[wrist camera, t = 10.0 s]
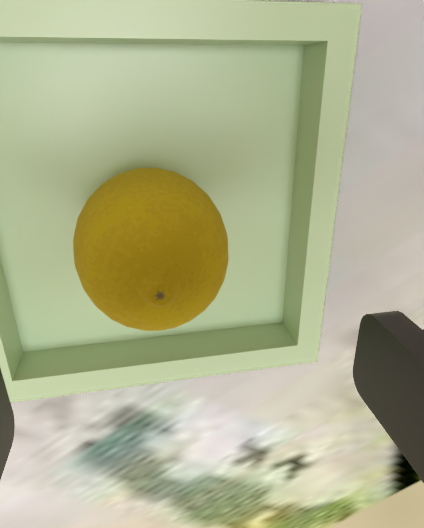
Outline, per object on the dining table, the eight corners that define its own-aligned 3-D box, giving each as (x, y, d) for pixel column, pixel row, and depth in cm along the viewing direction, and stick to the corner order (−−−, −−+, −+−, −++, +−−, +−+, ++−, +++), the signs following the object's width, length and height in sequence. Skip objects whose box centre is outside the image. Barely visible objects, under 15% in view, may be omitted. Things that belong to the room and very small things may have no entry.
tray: (325, 15, 17) (362, 4, 15) (295, 330, 24) (317, 361, 21) (-88, 5, 15) (-136, -12, 12) (6, 364, 21) (-11, 405, 18)
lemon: (114, 129, 17) (108, 161, 10) (226, 188, 19) (290, 251, 12) (64, 242, 18) (26, 343, 11) (173, 285, 20) (200, 395, 13)
